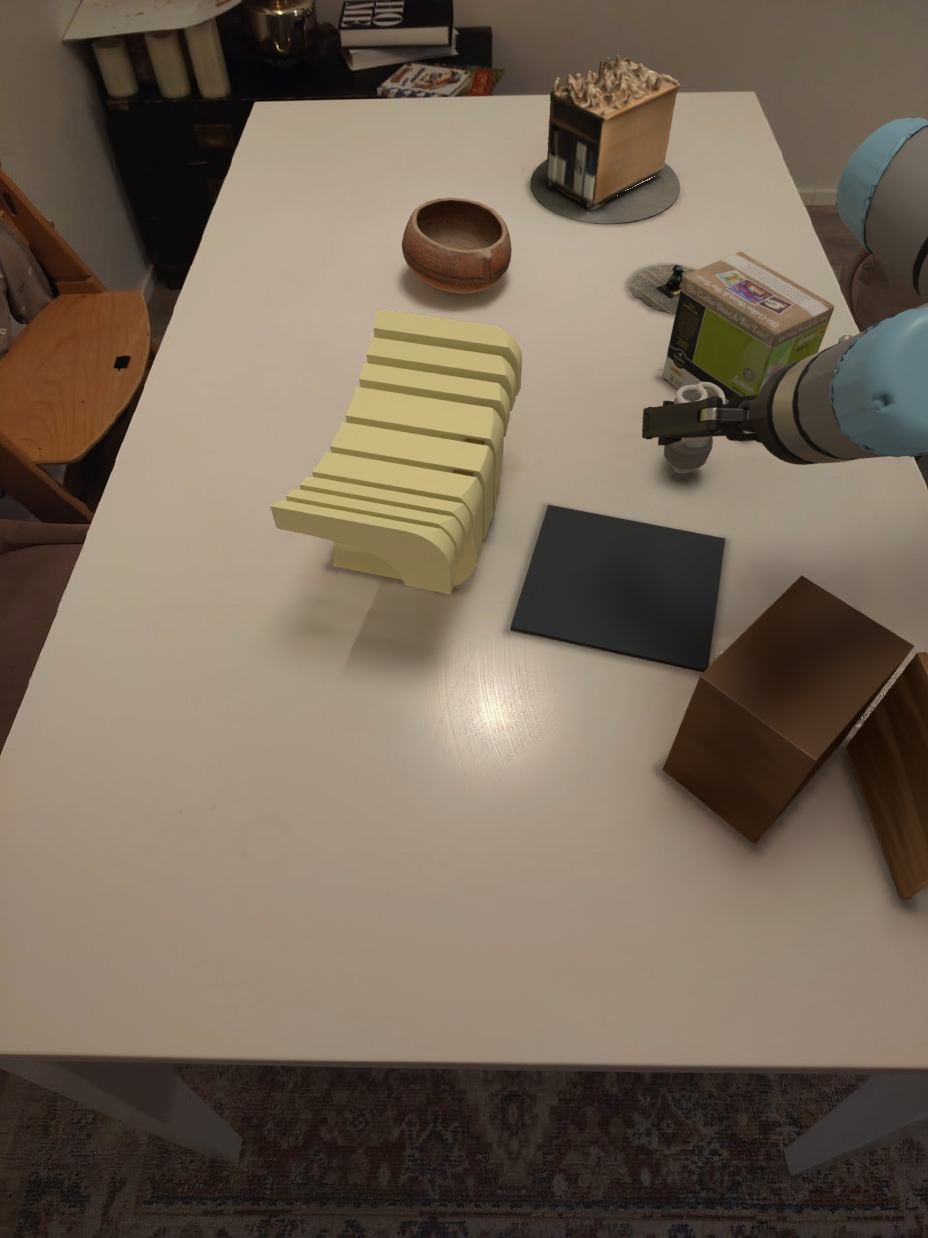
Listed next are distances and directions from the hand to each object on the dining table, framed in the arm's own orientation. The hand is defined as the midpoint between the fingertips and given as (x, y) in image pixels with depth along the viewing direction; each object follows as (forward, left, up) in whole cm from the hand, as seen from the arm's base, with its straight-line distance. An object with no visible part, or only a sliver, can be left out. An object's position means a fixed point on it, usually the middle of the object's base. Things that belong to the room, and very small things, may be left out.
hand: (734, 432), depth 78 cm
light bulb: (+3, -11, -16) cm, 20 cm away
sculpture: (+9, -49, -16) cm, 53 cm away
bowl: (+40, -43, -16) cm, 61 cm away
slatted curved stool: (+30, +7, -16) cm, 35 cm away
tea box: (-1, -27, -16) cm, 32 cm away
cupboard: (-8, +25, -16) cm, 31 cm away
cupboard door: (-21, +27, -16) cm, 38 cm away
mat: (+7, +8, -16) cm, 19 cm away
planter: (+24, -77, -16) cm, 82 cm away
